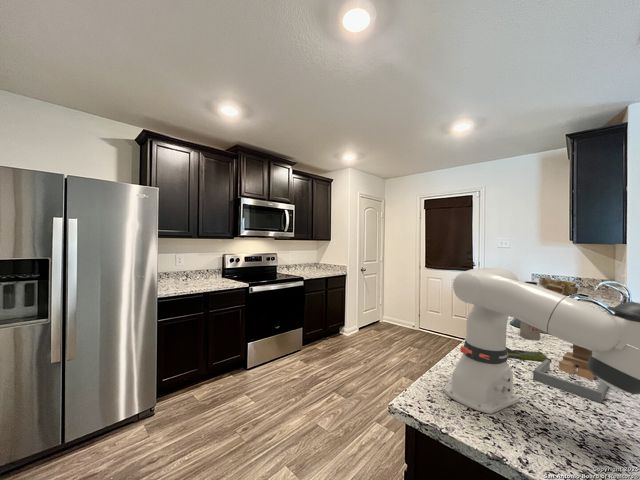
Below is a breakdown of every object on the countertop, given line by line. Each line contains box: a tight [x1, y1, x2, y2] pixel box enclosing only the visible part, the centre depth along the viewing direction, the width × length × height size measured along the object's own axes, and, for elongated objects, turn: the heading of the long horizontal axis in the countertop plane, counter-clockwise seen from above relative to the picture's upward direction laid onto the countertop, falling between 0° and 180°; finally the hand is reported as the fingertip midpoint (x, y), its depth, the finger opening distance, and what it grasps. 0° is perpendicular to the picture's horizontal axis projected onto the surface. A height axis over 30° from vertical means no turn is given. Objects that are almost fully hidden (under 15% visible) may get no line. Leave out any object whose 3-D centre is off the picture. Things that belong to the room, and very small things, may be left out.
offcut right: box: [577, 365, 597, 381], centre depth 95 cm, size 4×4×3 cm
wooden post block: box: [562, 344, 592, 367], centre depth 103 cm, size 8×10×14 cm
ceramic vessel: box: [538, 276, 579, 296], centre depth 207 cm, size 23×24×25 cm
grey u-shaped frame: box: [532, 359, 610, 404], centre depth 90 cm, size 16×16×3 cm
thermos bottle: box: [519, 281, 541, 341], centre depth 133 cm, size 8×8×28 cm
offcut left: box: [558, 359, 578, 375], centre depth 99 cm, size 4×4×3 cm
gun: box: [506, 346, 552, 363], centre depth 114 cm, size 2×19×15 cm
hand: (579, 342), depth 104 cm, fingers closed on wooden post block, 3 cm apart
